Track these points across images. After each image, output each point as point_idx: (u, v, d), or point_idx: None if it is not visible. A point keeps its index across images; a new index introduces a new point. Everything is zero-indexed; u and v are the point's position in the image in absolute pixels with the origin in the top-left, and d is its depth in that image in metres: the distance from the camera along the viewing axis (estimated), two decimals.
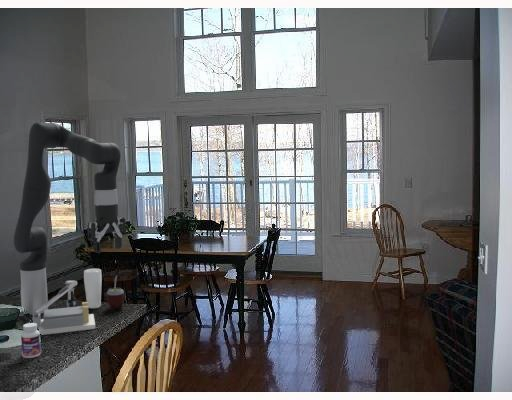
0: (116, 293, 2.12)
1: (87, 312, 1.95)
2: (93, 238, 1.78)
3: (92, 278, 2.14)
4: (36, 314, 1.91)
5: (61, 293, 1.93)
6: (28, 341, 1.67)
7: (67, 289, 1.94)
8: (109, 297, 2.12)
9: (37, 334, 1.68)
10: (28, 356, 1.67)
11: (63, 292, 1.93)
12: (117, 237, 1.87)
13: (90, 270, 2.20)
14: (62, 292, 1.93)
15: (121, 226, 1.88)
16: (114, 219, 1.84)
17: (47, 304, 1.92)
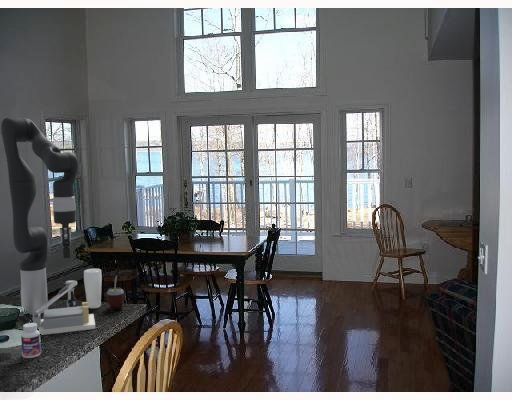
0: (116, 293, 2.12)
1: (87, 312, 1.95)
2: None
3: (92, 278, 2.14)
4: (36, 314, 1.91)
5: (61, 293, 1.93)
6: (28, 341, 1.67)
7: (67, 289, 1.94)
8: (109, 297, 2.12)
9: (37, 334, 1.68)
10: (28, 356, 1.67)
11: (63, 292, 1.93)
12: None
13: (90, 270, 2.20)
14: (62, 292, 1.93)
15: None
16: None
17: (47, 304, 1.92)
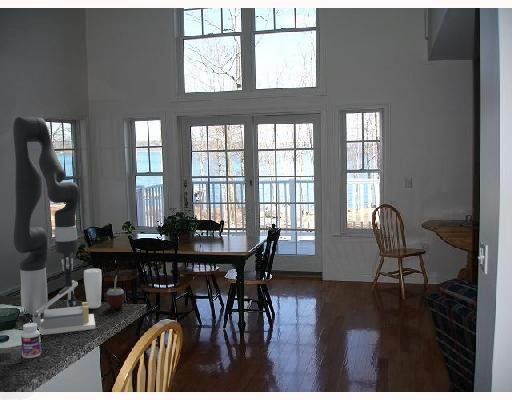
0: (116, 293, 2.12)
1: (87, 312, 1.95)
2: None
3: (92, 278, 2.14)
4: (36, 314, 1.91)
5: (61, 293, 1.93)
6: (28, 341, 1.67)
7: (67, 290, 1.94)
8: (109, 297, 2.12)
9: (37, 334, 1.68)
10: (28, 356, 1.67)
11: (63, 292, 1.93)
12: None
13: (90, 270, 2.20)
14: (62, 292, 1.93)
15: None
16: None
17: (47, 304, 1.92)
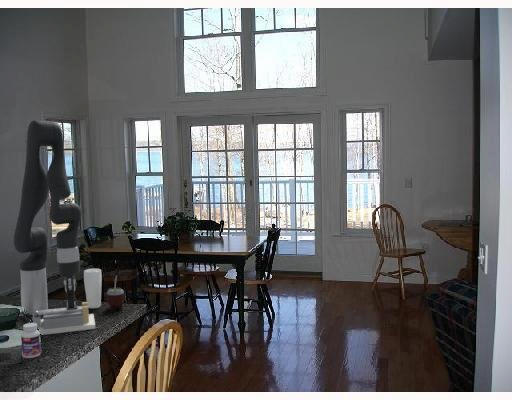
0: (116, 293, 2.12)
1: (87, 312, 1.95)
2: None
3: (92, 278, 2.14)
4: (36, 314, 1.91)
5: (68, 309, 1.94)
6: (28, 341, 1.67)
7: (76, 309, 1.95)
8: (109, 297, 2.12)
9: (37, 334, 1.68)
10: (28, 356, 1.67)
11: (71, 310, 1.95)
12: None
13: (90, 270, 2.20)
14: (70, 309, 1.95)
15: None
16: (66, 276, 1.91)
17: (51, 311, 1.93)
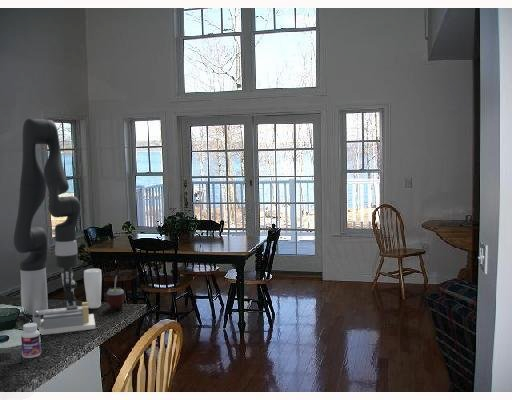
0: (116, 293, 2.12)
1: (87, 312, 1.95)
2: None
3: (92, 278, 2.14)
4: (36, 314, 1.91)
5: (68, 309, 1.94)
6: (28, 341, 1.67)
7: (76, 309, 1.95)
8: (109, 297, 2.12)
9: (37, 334, 1.68)
10: (28, 356, 1.67)
11: (71, 310, 1.95)
12: None
13: (90, 270, 2.20)
14: (70, 309, 1.95)
15: None
16: None
17: (51, 311, 1.93)
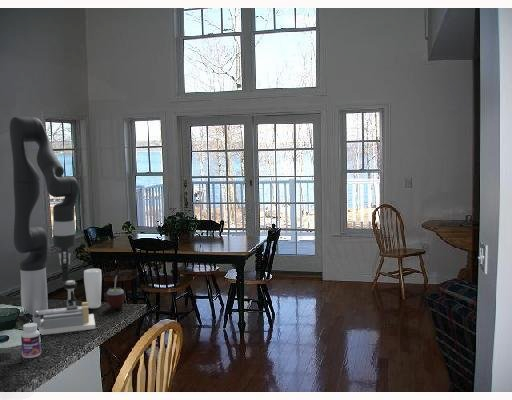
0: (116, 293, 2.12)
1: (87, 312, 1.95)
2: None
3: (92, 278, 2.14)
4: (36, 314, 1.91)
5: (68, 309, 1.94)
6: (28, 341, 1.67)
7: (76, 309, 1.95)
8: (109, 297, 2.12)
9: (37, 334, 1.68)
10: (28, 356, 1.67)
11: (71, 310, 1.95)
12: None
13: (90, 270, 2.20)
14: (70, 309, 1.95)
15: None
16: (61, 249, 1.91)
17: (51, 311, 1.93)
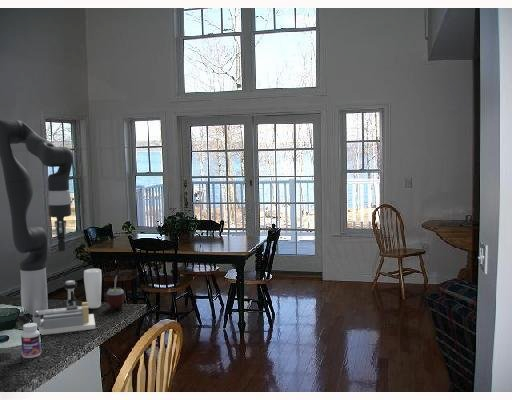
0: (116, 293, 2.12)
1: (87, 312, 1.95)
2: None
3: (92, 278, 2.14)
4: (36, 314, 1.91)
5: (68, 309, 1.94)
6: (28, 341, 1.67)
7: (76, 309, 1.95)
8: (109, 297, 2.12)
9: (37, 334, 1.68)
10: (28, 356, 1.67)
11: (71, 310, 1.95)
12: None
13: (90, 270, 2.20)
14: (70, 309, 1.95)
15: None
16: None
17: (51, 311, 1.93)
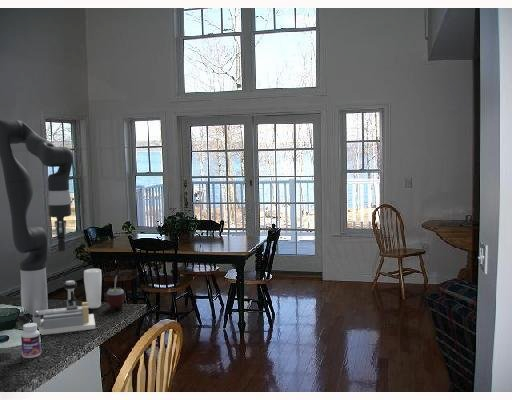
0: (116, 293, 2.12)
1: (87, 312, 1.95)
2: None
3: (92, 278, 2.14)
4: (36, 314, 1.91)
5: (68, 309, 1.94)
6: (28, 341, 1.67)
7: (76, 309, 1.95)
8: (109, 297, 2.12)
9: (37, 334, 1.68)
10: (28, 356, 1.67)
11: (71, 310, 1.95)
12: None
13: (90, 270, 2.20)
14: (70, 309, 1.95)
15: None
16: None
17: (51, 311, 1.93)
